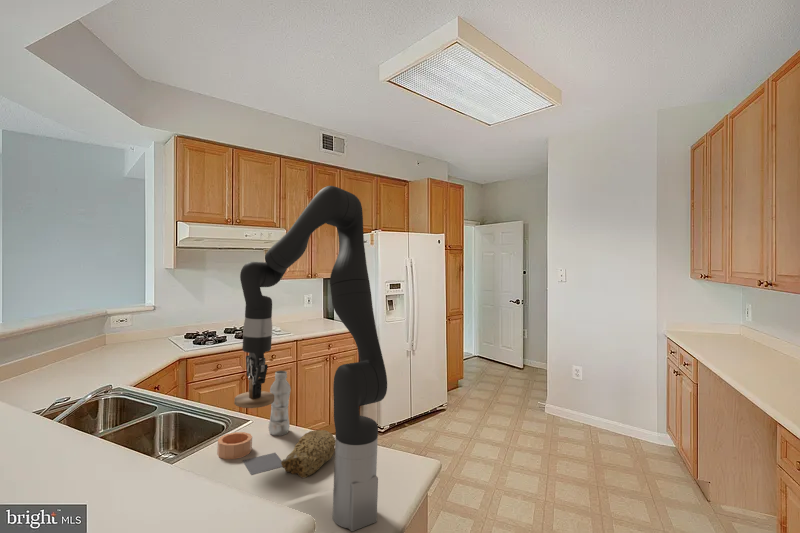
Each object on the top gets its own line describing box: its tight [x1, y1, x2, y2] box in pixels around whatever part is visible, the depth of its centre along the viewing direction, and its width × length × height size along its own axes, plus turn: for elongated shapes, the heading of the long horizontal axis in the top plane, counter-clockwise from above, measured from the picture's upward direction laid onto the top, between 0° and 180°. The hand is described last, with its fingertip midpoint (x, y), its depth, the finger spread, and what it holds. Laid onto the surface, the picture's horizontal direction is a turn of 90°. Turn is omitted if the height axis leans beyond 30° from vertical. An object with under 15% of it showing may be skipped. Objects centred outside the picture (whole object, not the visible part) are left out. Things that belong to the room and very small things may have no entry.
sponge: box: [281, 429, 335, 479], centre depth 109 cm, size 13×8×20 cm
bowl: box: [216, 431, 253, 460], centre depth 112 cm, size 9×9×4 cm
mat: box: [241, 452, 283, 476], centre depth 106 cm, size 9×9×1 cm
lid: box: [233, 377, 274, 409], centre depth 109 cm, size 10×10×6 cm
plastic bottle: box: [268, 370, 291, 437], centre depth 126 cm, size 6×7×20 cm
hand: (254, 395), depth 109 cm, fingers closed on lid, 3 cm apart
